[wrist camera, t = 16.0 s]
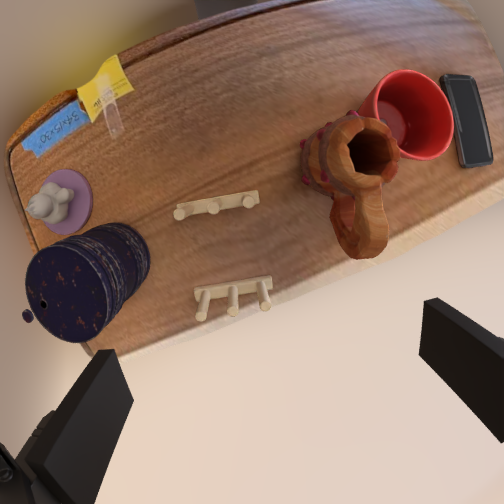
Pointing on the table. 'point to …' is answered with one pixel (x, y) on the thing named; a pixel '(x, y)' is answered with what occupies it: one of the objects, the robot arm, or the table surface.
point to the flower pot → (412, 113)
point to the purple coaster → (78, 206)
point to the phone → (468, 120)
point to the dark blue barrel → (85, 280)
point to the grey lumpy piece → (50, 203)
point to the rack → (233, 287)
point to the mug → (353, 179)
